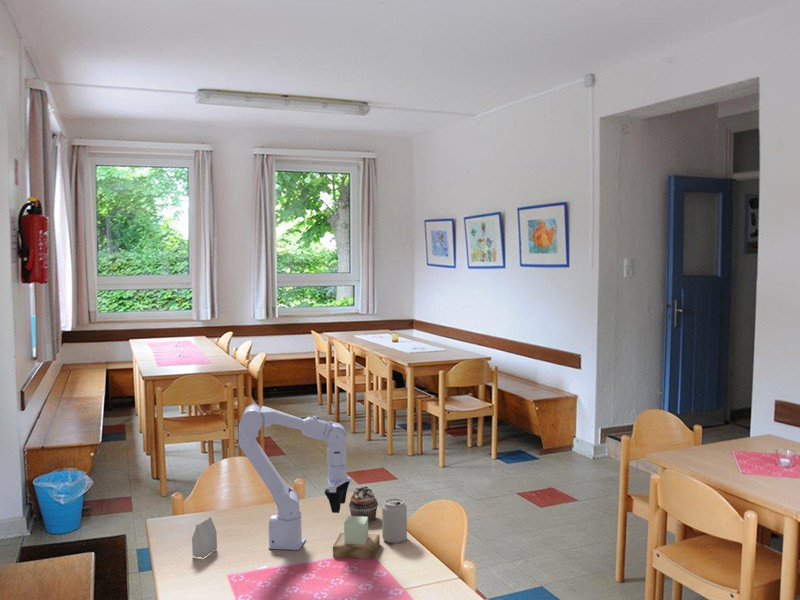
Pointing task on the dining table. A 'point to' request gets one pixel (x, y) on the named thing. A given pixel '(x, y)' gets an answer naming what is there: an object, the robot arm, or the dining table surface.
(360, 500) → the cupcake
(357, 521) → the green cube
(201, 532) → the grey angular block
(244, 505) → the dining table surface
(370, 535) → the brown shallow tray
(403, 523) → the can
